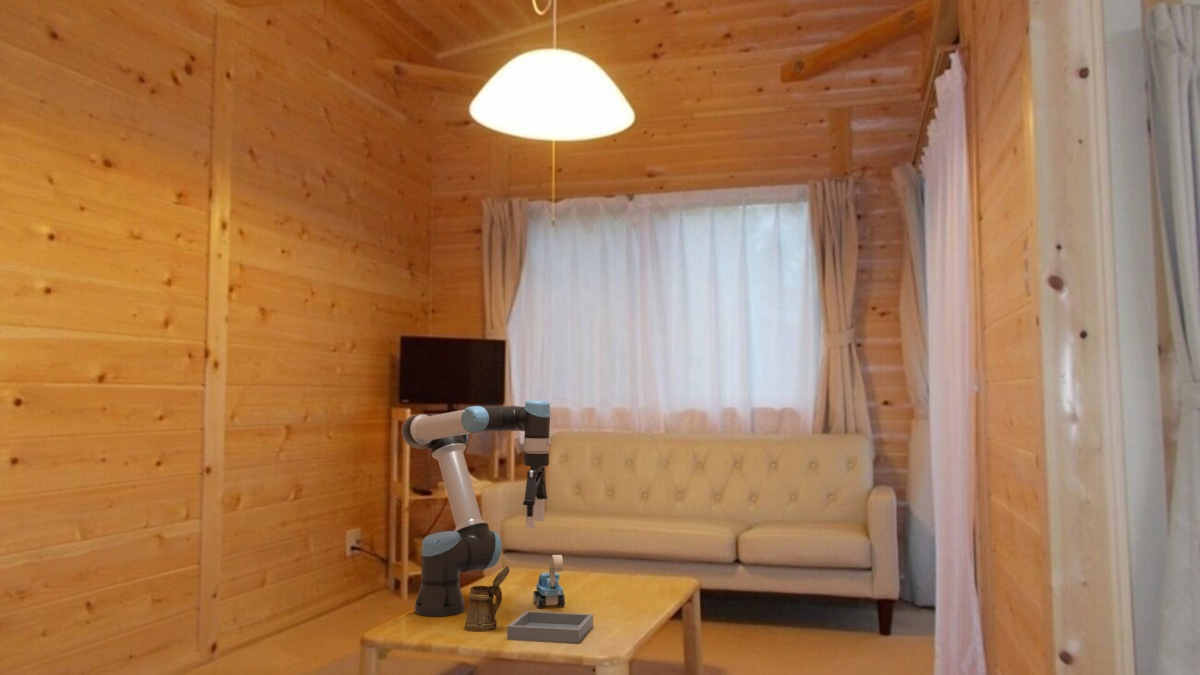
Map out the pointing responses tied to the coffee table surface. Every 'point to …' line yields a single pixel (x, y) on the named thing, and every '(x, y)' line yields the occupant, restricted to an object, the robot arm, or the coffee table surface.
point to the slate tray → (550, 627)
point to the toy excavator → (550, 586)
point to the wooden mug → (484, 605)
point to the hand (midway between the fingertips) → (535, 524)
